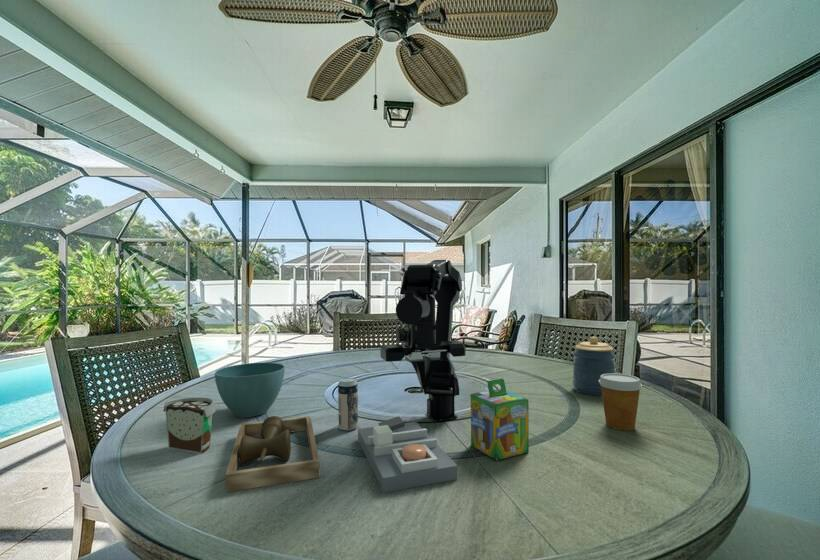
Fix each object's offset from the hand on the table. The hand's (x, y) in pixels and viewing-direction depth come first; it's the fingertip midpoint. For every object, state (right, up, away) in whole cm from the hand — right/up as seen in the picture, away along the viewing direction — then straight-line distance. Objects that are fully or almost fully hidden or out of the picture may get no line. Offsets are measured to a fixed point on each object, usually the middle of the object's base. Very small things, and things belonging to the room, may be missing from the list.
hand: (423, 388), depth 90 cm
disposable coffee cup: (+49, -12, +8) cm, 51 cm away
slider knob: (-9, -9, -9) cm, 16 cm away
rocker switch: (-7, -9, 0) cm, 11 cm away
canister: (+57, -12, +39) cm, 70 cm away
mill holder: (-32, -12, -6) cm, 34 cm away
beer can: (-18, -12, +9) cm, 24 cm away
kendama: (-33, -13, -5) cm, 36 cm away
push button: (-2, -9, -16) cm, 18 cm away
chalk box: (+16, -12, -4) cm, 21 cm away
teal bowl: (-48, -13, +22) cm, 54 cm away
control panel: (-5, -12, -8) cm, 15 cm away
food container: (-51, -13, -1) cm, 53 cm away
